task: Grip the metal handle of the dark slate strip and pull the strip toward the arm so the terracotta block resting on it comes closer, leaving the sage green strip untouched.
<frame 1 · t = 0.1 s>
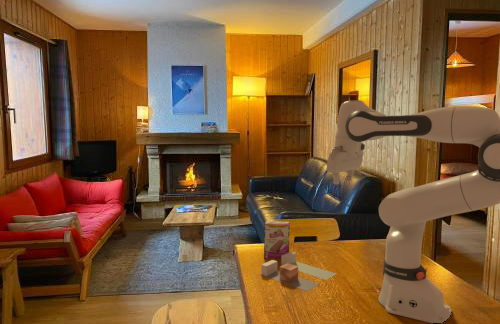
hand: (342, 182, 143), 39 cm above the table, tool pointing down, fingers open, 8 cm apart
terracotta block: (288, 279, 148), point 1 cm above the table, touching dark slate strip
sage green strip: (307, 265, 158), point 3 cm above the table, slide at 0.0 cm
candy bar box: (276, 258, 174), on the table
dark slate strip: (288, 275, 148), point 3 cm above the table, slide at 0.0 cm, touching terracotta block
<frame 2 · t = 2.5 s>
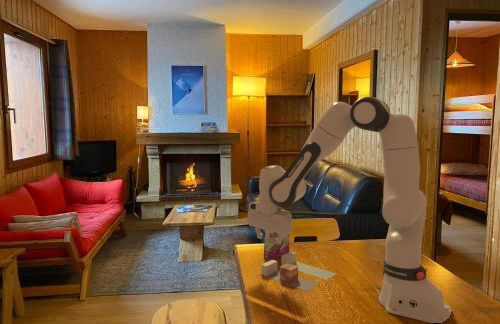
hand: (269, 240, 153), 14 cm above the table, tool pointing down, fingers open, 8 cm apart
nothing on the table moved.
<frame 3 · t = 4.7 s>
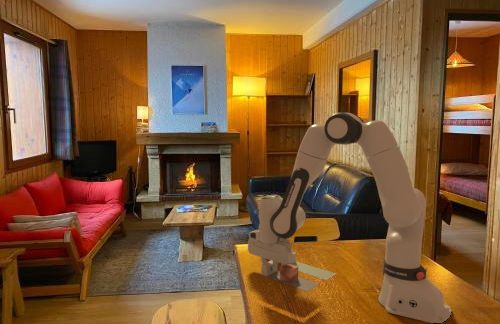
hand: (269, 269, 154), 3 cm above the table, tool pointing down, fingers closed on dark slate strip, 2 cm apart
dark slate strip: (288, 275, 148), point 3 cm above the table, slide at 0.0 cm, touching gripper, terracotta block
everything else where it was.
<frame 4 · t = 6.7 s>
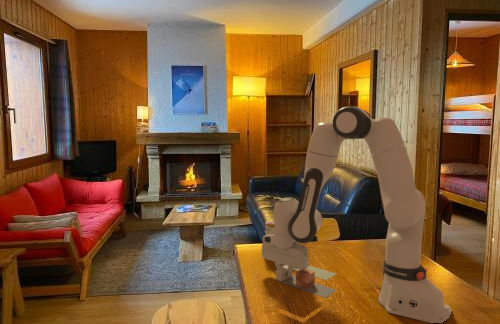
hand: (284, 274, 150), 2 cm above the table, tool pointing down, fingers closed on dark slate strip, 2 cm apart
terracotta block: (305, 284, 144), point 1 cm above the table, touching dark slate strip
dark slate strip: (305, 280, 143), point 3 cm above the table, slide at 7.3 cm, touching gripper, terracotta block
everything else where it was.
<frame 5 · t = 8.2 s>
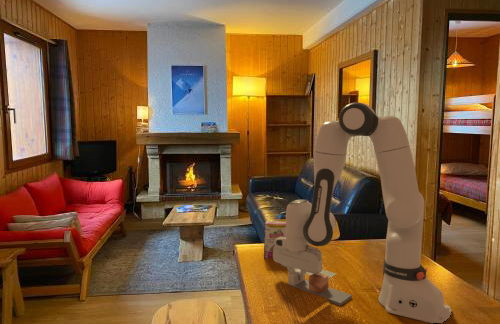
hand: (296, 278, 146), 2 cm above the table, tool pointing down, fingers closed on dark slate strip, 2 cm apart
terracotta block: (318, 289, 140), point 1 cm above the table, touching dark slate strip
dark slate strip: (318, 285, 140), point 3 cm above the table, slide at 13.1 cm, touching gripper, terracotta block
everything else where it was.
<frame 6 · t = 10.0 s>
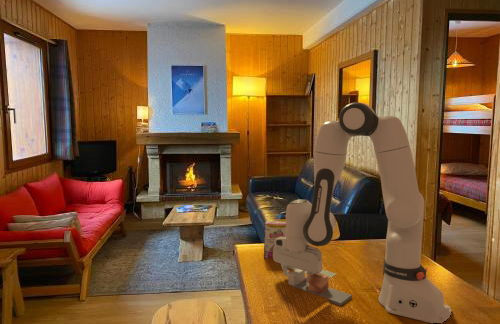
hand: (296, 278, 146), 2 cm above the table, tool pointing down, fingers open, 8 cm apart
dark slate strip: (318, 285, 140), point 3 cm above the table, slide at 13.1 cm, touching terracotta block
everything else where it was.
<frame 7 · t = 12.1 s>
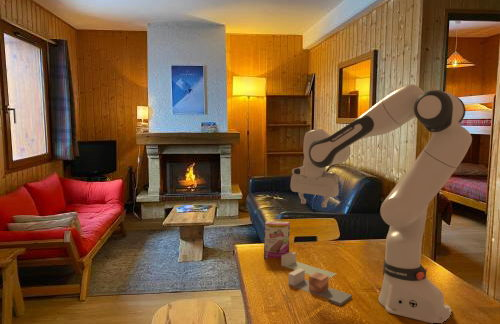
hand: (313, 205, 155), 28 cm above the table, tool pointing down, fingers open, 8 cm apart
nothing on the table moved.
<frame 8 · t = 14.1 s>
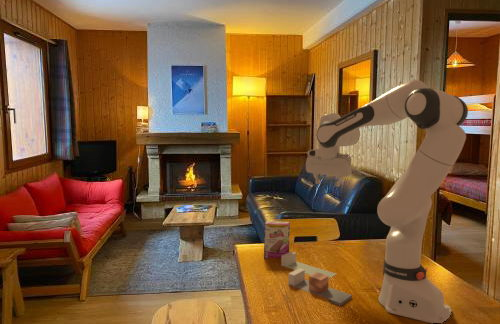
hand: (327, 185, 165), 34 cm above the table, tool pointing down, fingers open, 8 cm apart
nothing on the table moved.
at the end: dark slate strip slide at 13.1 cm; terracotta block inside the target area (0.4 cm from its centre), point 1.2 cm above the table; sage green strip slide at 0.0 cm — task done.
